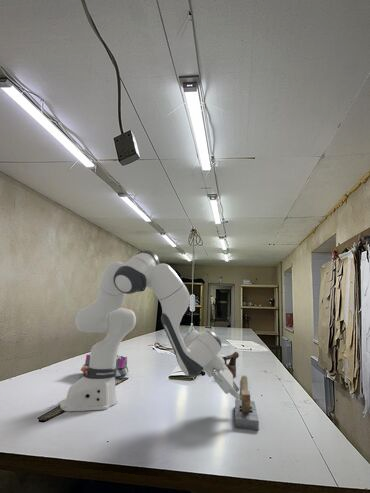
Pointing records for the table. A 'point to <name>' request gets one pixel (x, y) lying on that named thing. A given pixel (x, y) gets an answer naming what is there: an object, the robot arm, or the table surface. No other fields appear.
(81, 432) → the table surface
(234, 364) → the wooden tool caddy
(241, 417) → the grey slotted block
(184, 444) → the table surface
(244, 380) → the roll
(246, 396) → the clip
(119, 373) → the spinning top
